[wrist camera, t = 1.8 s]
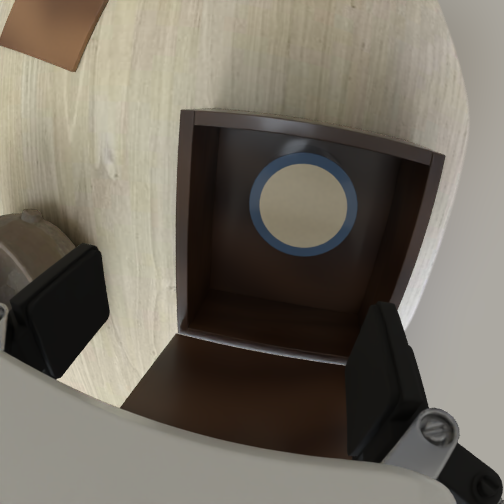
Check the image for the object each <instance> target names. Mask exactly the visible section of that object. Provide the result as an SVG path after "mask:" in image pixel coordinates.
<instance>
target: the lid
mask: <svg viewBox="0 0 504 504" xmlns="http://www.w3.org/2000/svg"><path fill="white" fill-rule="evenodd" d="M120 408H121V409H123V410H126V411H129V412H131V413H134V414H137V415H139V416H142V417H145V418H148V419H151V420H154V421H157V422H160V423H163V424H166V425H169V426H173V427H176V428H179V429H183V430H186V431H190V432H193V433H197V434H200V435H204V436H208V437H212V438H216V439H220V440H224V441H229V442H233V443H238V444H242V445H247V446H252V447H258V448H263V449H269V450H275V451H281V452H288V453H294V454H301V455H308V456H316V457H325V458H336V459H346V460H352V456H348V454H347V415H346V389H345V365H337V364H330V363H323V362H316V361H309V360H303V359H297V358H291V357H285V356H279V355H273V354H268V353H263V352H257V351H252V350H247V349H242V348H237V347H232V346H228V345H223V344H219V343H214V342H210V341H205V340H201V339H197V338H193V337H189V336H184V335H180V334H175V336H174V337H173V338H172V340H171V341H170V342H169V344H168V345H167V346H166V347H165V349H164V350H163V351H162V353H161V354H160V355H159V357H158V358H157V359H156V361H155V362H154V363H153V365H152V366H151V367H150V369H149V370H148V371H147V373H146V374H145V375H144V377H143V378H142V379H141V380H140V382H139V383H138V384H137V386H136V387H135V388H134V390H133V391H132V392H131V394H130V395H129V396H128V398H127V399H126V400H125V402H124V403H123V404H122V406H121V407H120Z"/></svg>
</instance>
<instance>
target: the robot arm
mask: <svg viewBox="0 0 504 504" xmlns="http://www.w3.org/2000/svg"><path fill="white" fill-rule="evenodd" d="M9 301H10V304H11V307H12V309H11V310H10V311H9V310H8V308H7V306H6V305H5V304H3V303H0V504H504V500H502V498H501V496H502V491H503V486H502V481H501V479H500V477H499V475H498V474H497V473H496V472H495V471H494V470H493V469H491V468H490V467H489V466H487V465H486V464H485V463H483V462H482V461H481V460H479V459H478V458H477V457H475V456H474V455H473V454H472V453H470V452H469V451H468V450H466V449H465V448H464V447H462V446H461V445H460V444H458V443H457V442H458V439H459V436H460V435H459V427H458V424H457V423H456V421H455V419H454V418H453V417H452V416H451V415H450V414H449V413H447V412H446V411H444V410H442V409H437V408H429V407H428V403H427V399H426V395H425V392H424V387H423V384H422V380H421V376H420V373H419V369H418V366H417V363H416V359H415V356H414V353H413V350H412V348H411V347H410V346H409V345H408V342H407V339H406V336H405V332H404V329H403V326H402V323H401V320H400V317H399V314H398V311H397V308H396V306H395V304H393V303H387V302H381V301H378V302H377V303H376V304H375V305H371V306H370V307H369V310H368V312H367V315H366V317H365V320H364V322H363V325H362V327H361V330H360V332H359V335H358V337H357V340H356V342H355V344H354V347H353V349H352V351H351V354H350V356H349V358H348V361H347V363H346V366H345V389H346V415H347V454H348V456H352V460H346V459H336V458H325V457H316V456H308V455H301V454H294V453H288V452H281V451H275V450H269V449H263V448H258V447H252V446H247V445H242V444H238V443H233V442H229V441H224V440H220V439H216V438H212V437H208V436H204V435H200V434H197V433H193V432H190V431H186V430H183V429H179V428H176V427H173V426H169V425H166V424H163V423H160V422H157V421H154V420H151V419H148V418H145V417H142V416H139V415H137V414H134V413H131V412H129V411H126V410H123V409H121V408H118V407H116V406H113V405H111V404H108V403H106V402H103V401H101V400H98V399H96V398H94V397H92V396H89V395H87V394H85V393H83V392H80V391H78V390H76V389H74V388H72V387H70V386H67V385H65V384H63V383H61V382H59V381H57V380H56V379H57V378H61V377H62V376H63V374H64V373H65V372H66V370H67V369H68V368H69V366H70V365H71V364H72V363H73V361H74V360H75V359H76V358H77V356H78V355H79V354H80V353H81V351H82V350H83V349H84V348H85V346H86V345H87V344H88V343H89V341H90V340H91V339H92V338H93V336H94V335H95V334H96V333H97V332H98V330H99V329H100V328H101V327H102V325H103V324H104V323H105V322H106V321H107V319H108V317H109V313H110V310H109V304H108V298H107V292H106V285H105V278H104V271H103V263H102V255H101V252H100V251H99V250H98V248H97V247H96V246H94V245H89V244H85V243H82V244H80V245H79V246H77V247H76V248H74V249H73V250H72V251H70V252H69V253H68V254H66V255H65V256H64V257H62V258H61V259H60V260H58V261H57V262H56V263H55V264H53V265H52V266H51V267H49V268H48V269H47V270H46V271H44V272H43V273H42V274H41V275H39V276H38V277H37V278H36V279H34V280H33V281H32V282H31V283H29V284H28V285H27V286H26V287H24V288H23V289H22V290H21V291H20V292H18V293H17V294H16V295H15V296H14V297H13V298H11V299H10V300H9Z"/></svg>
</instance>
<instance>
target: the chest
mask: <svg viewBox="0 0 504 504" xmlns="http://www.w3.org/2000/svg"><path fill="white" fill-rule="evenodd" d="M296 145H312V146H316V147H319V148H322V149H324V150H326V151H328V152H329V153H331V154H332V155H333V156H335V157H336V158H337V159H338V160H339V162H340V163H341V164H342V166H343V167H344V169H345V171H346V172H347V174H348V176H349V178H350V179H351V181H352V183H353V185H354V188H355V191H356V195H357V202H358V210H357V216H356V220H355V223H354V225H353V227H352V230H351V231H350V233H349V234H348V236H347V237H346V238H345V239H344V240H343V241H342V242H341V243H340V244H339V245H337V246H336V247H335V248H333V249H331V250H329V251H327V252H325V253H322V254H319V255H315V256H294V255H290V254H286V253H284V252H281V251H279V250H277V249H275V248H274V247H272V246H271V245H270V244H268V243H267V242H266V241H265V240H264V239H263V238H262V237H261V236H260V234H259V233H258V231H257V230H256V228H255V226H254V224H253V222H252V219H251V215H250V210H249V197H250V191H251V188H252V185H253V183H254V181H255V179H256V177H257V176H258V174H259V173H260V172H261V170H262V169H263V168H264V166H265V165H266V164H267V163H268V161H269V160H270V159H271V158H272V157H273V156H274V155H275V154H277V153H278V152H280V151H281V150H283V149H286V148H288V147H291V146H296ZM444 160H445V155H443V154H441V153H438V152H436V151H433V150H431V149H428V148H426V147H423V146H421V145H418V144H415V143H413V142H410V141H406V140H402V139H399V138H395V137H391V136H387V135H383V134H379V133H375V132H370V131H366V130H362V129H357V128H352V127H348V126H343V125H338V124H332V123H327V122H321V121H316V120H310V119H304V118H297V117H290V116H283V115H276V114H268V113H259V112H250V111H240V110H229V109H216V108H213V109H186V110H181V114H180V129H179V145H178V165H177V192H176V293H177V321H178V333H179V334H183V335H187V336H191V337H195V338H199V339H203V340H208V341H212V342H216V343H221V344H226V345H230V346H235V347H240V348H245V349H250V350H255V351H260V352H265V353H271V354H276V355H282V356H288V357H294V358H300V359H306V360H313V361H320V362H327V363H334V364H341V365H346V363H347V361H348V358H349V356H350V354H351V351H352V349H353V347H354V344H355V342H356V340H357V337H358V335H359V332H360V330H361V327H362V325H363V322H364V320H365V317H366V315H367V312H368V310H369V307H370V306H371V305H375V304H376V303H377V302H378V301H381V302H387V303H393V304H395V306H396V308H397V310H398V307H399V305H400V302H401V300H402V297H403V295H404V292H405V290H406V287H407V285H408V282H409V279H410V277H411V274H412V271H413V268H414V266H415V263H416V260H417V257H418V254H419V251H420V248H421V245H422V242H423V239H424V236H425V233H426V229H427V226H428V223H429V219H430V216H431V212H432V209H433V205H434V202H435V198H436V194H437V190H438V186H439V182H440V178H441V174H442V169H443V165H444Z"/></svg>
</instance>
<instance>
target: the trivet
mask: <svg viewBox="0 0 504 504" xmlns="http://www.w3.org/2000/svg"><path fill="white" fill-rule="evenodd" d="M107 2H108V0H15V2H14V4H13V7H12V9H11V11H10V14H9V16H8V19H7V21H6V24H5V26H4V29H3V32H2V34H1V37H0V46H4V47H7V48H10V49H13V50H15V51H18V52H21V53H24V54H27V55H30V56H32V57H35V58H38V59H41V60H43V61H46V62H49V63H51V64H54V65H56V66H59V67H61V68H64V69H66V70H69V71H71V72H76V69H77V67H78V64H79V62H80V59H81V57H82V54H83V52H84V50H85V47H86V45H87V43H88V41H89V38H90V36H91V34H92V32H93V30H94V28H95V26H96V24H97V22H98V19H99V17H100V16H101V14H102V12H103V10H104V8H105V6H106V4H107Z"/></svg>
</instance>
